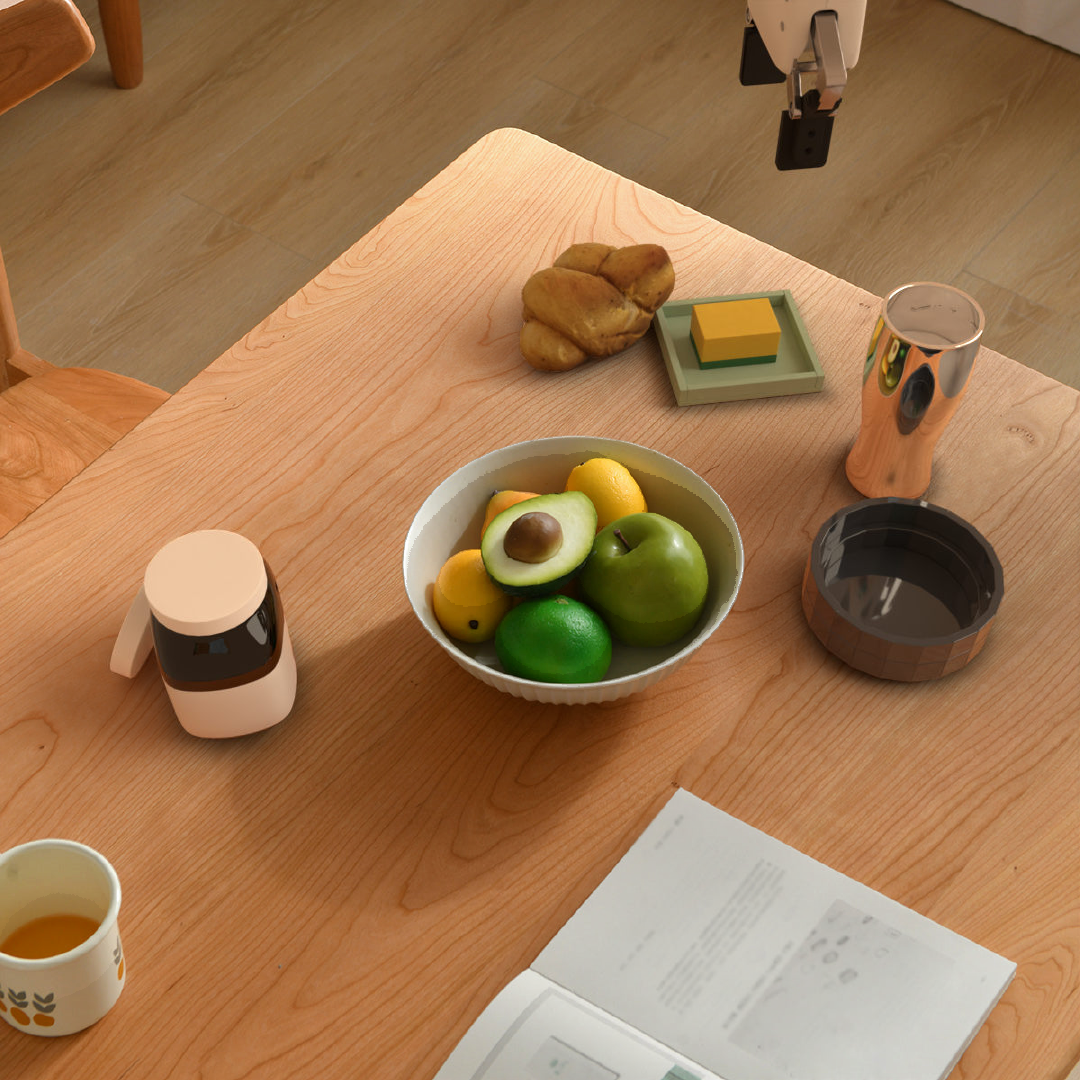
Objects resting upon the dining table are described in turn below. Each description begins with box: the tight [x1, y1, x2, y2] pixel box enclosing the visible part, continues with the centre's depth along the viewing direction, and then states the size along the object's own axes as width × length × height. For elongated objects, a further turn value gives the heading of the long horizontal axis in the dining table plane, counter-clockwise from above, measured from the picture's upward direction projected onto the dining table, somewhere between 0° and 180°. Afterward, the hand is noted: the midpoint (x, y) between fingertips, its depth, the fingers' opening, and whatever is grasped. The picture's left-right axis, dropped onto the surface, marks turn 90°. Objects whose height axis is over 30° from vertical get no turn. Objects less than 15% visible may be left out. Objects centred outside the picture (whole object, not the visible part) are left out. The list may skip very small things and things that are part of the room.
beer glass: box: [844, 281, 986, 499], centre depth 92 cm, size 7×7×15 cm
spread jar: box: [109, 528, 298, 740], centre depth 82 cm, size 12×11×12 cm
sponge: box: [689, 298, 781, 370], centre depth 105 cm, size 6×4×3 cm, turn 99°
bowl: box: [801, 496, 1005, 683], centre depth 89 cm, size 12×12×4 cm
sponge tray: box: [651, 288, 826, 407], centre depth 106 cm, size 11×10×2 cm
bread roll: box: [518, 242, 676, 373], centre depth 105 cm, size 13×10×8 cm
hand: (780, 123), depth 88 cm, fingers open, 9 cm apart
